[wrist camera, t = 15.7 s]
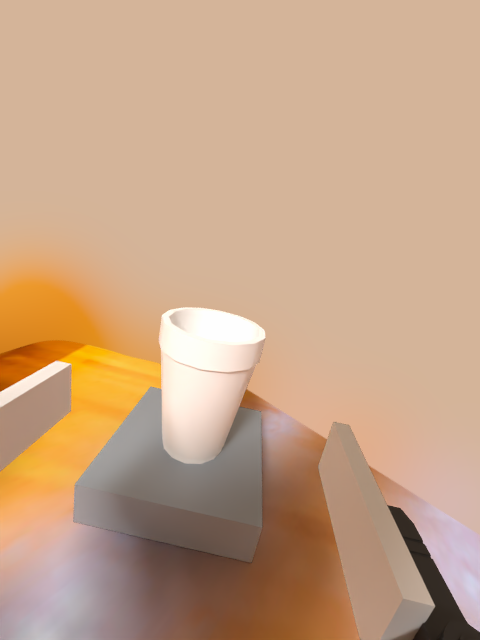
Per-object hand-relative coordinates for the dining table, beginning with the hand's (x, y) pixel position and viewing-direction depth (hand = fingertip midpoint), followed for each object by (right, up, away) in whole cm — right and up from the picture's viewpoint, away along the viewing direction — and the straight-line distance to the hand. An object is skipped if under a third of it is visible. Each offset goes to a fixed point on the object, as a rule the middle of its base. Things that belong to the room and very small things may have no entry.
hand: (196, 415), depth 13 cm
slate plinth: (-4, -11, +16) cm, 20 cm away
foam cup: (-3, -8, +15) cm, 17 cm away
